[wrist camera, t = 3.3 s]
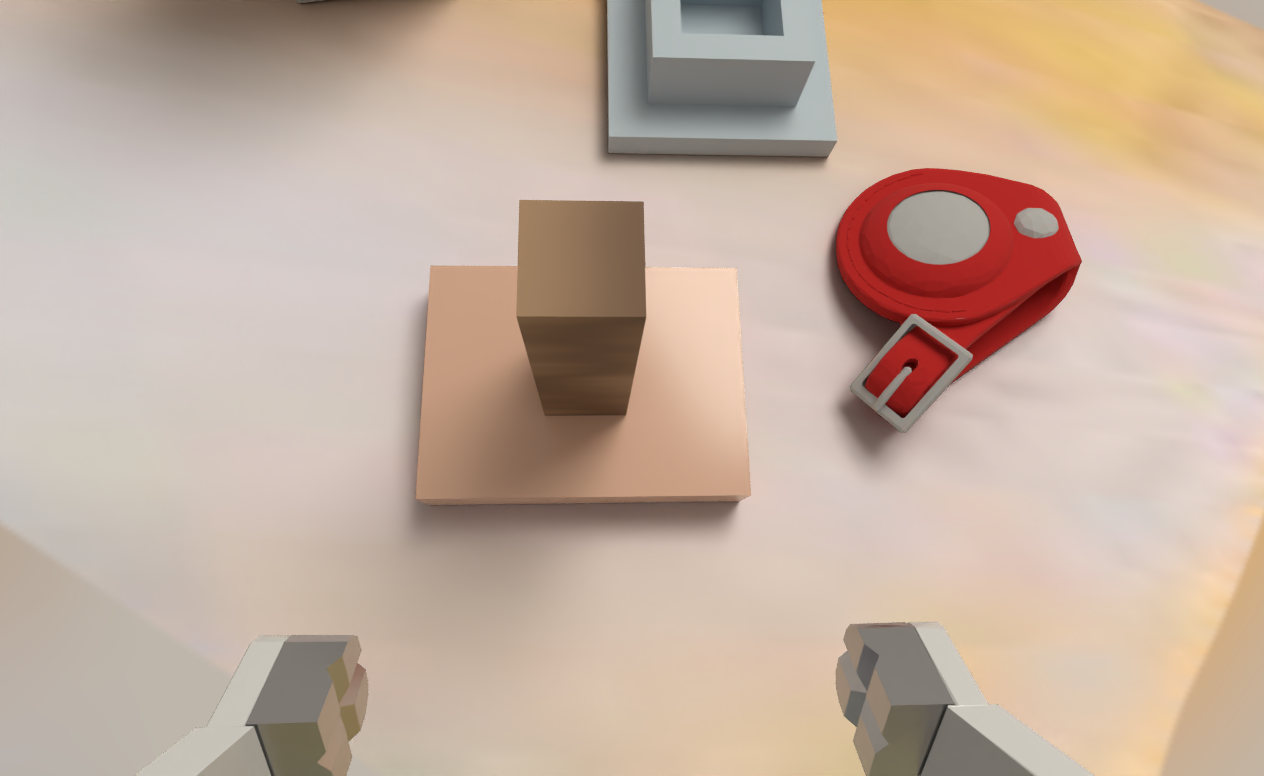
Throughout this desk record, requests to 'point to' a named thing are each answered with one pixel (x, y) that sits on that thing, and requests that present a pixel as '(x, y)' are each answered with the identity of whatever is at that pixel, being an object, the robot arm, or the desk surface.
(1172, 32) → the desk surface
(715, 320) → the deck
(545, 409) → the post
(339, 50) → the desk surface
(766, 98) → the grey square socket base
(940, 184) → the tracker holder
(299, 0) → the skincare box
